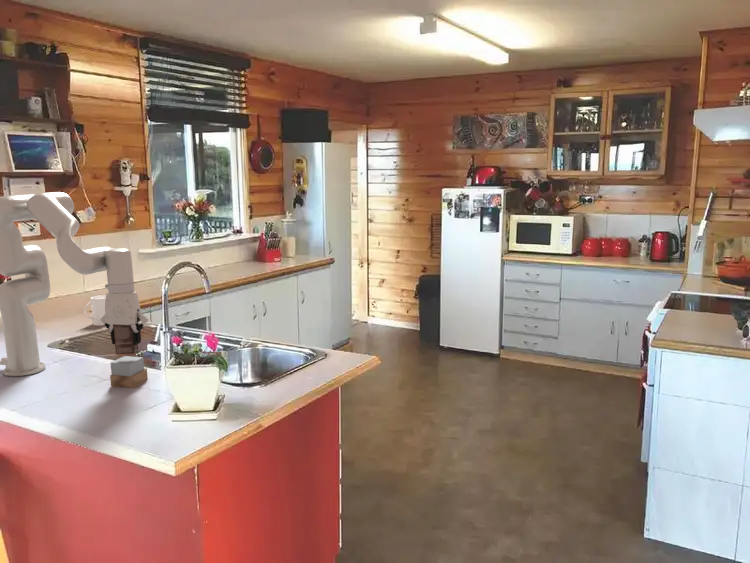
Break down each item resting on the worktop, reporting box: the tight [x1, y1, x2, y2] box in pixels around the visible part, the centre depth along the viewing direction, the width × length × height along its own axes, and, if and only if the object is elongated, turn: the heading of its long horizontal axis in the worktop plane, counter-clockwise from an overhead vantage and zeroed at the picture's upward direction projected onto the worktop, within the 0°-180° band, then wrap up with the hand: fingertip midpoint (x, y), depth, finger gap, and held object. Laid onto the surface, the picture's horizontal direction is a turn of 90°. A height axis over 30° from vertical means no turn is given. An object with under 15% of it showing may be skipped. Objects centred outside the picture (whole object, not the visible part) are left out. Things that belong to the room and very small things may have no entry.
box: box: [113, 324, 139, 356], centre depth 200 cm, size 6×4×12 cm
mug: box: [83, 294, 106, 327], centre depth 277 cm, size 12×8×12 cm
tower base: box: [109, 367, 149, 389], centre depth 203 cm, size 8×8×4 cm
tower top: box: [110, 355, 145, 376], centre depth 202 cm, size 7×7×4 cm
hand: (126, 343), depth 200 cm, fingers closed on box, 6 cm apart
